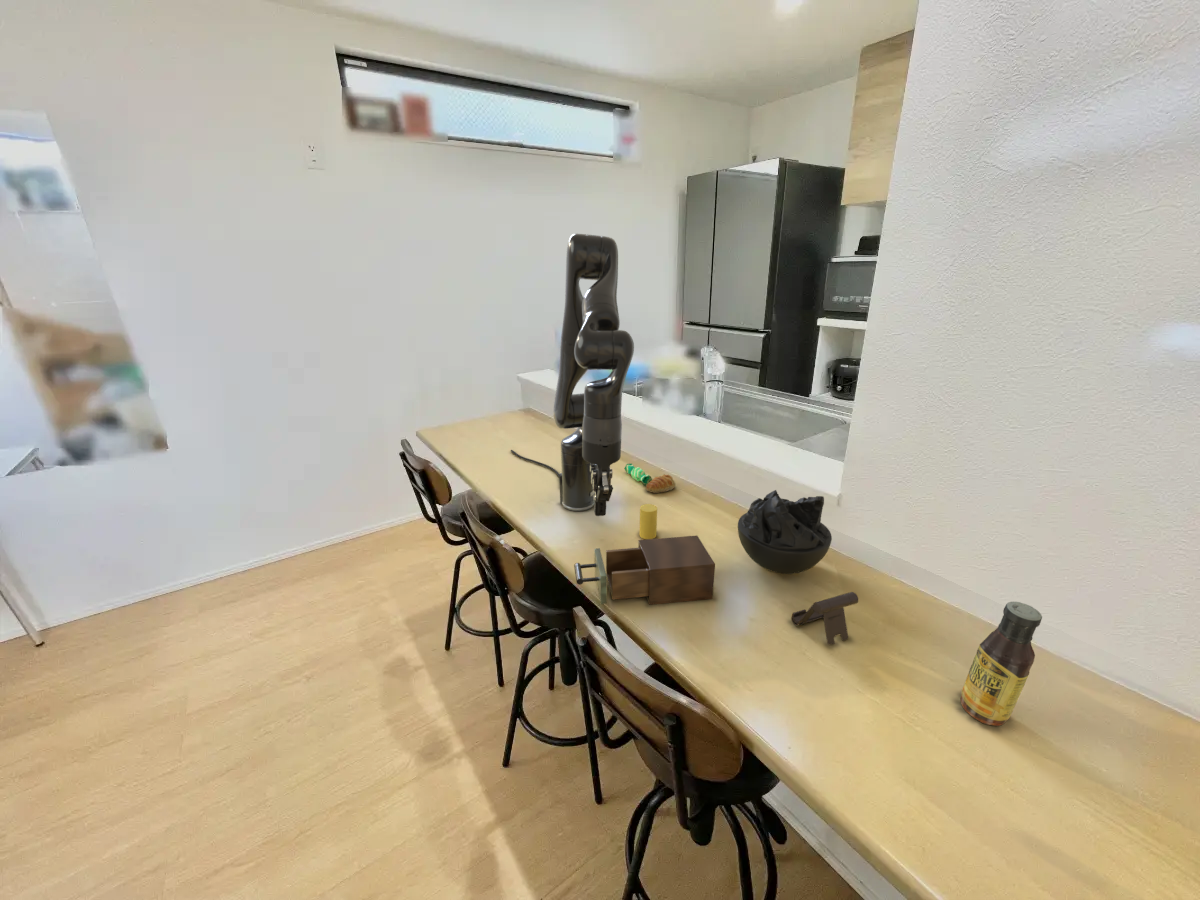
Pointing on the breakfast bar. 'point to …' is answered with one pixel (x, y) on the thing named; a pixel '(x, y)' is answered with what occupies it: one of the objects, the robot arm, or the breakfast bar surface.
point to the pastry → (661, 484)
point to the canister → (648, 521)
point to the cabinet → (678, 569)
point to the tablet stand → (828, 615)
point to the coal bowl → (785, 533)
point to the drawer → (618, 573)
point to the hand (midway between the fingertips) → (599, 514)
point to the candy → (637, 474)
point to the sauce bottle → (1001, 666)
